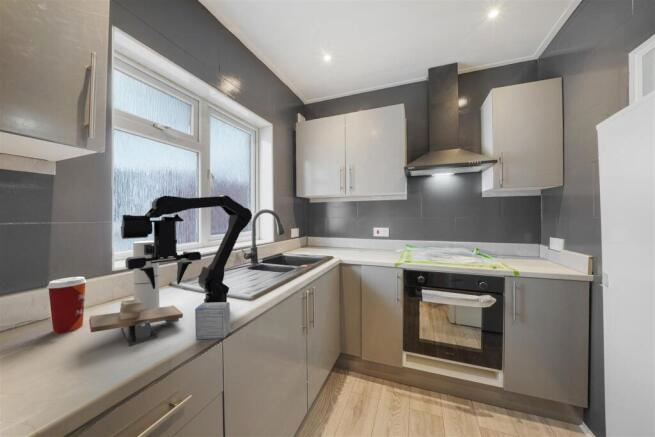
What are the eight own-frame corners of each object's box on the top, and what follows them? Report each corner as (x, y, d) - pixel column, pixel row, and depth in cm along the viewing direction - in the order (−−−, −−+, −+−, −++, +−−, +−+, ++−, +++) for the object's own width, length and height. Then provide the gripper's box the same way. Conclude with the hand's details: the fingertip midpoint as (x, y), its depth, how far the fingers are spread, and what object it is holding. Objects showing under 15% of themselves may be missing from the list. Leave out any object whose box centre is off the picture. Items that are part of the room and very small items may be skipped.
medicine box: (230, 331, 68) (230, 301, 68) (224, 339, 64) (223, 307, 64) (203, 332, 68) (202, 302, 68) (195, 340, 64) (194, 308, 64)
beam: (172, 313, 79) (173, 305, 79) (181, 322, 72) (183, 313, 72) (88, 325, 64) (89, 316, 64) (89, 338, 57) (91, 327, 58)
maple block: (137, 313, 69) (139, 299, 70) (139, 316, 67) (141, 302, 67) (119, 315, 66) (121, 301, 67) (121, 319, 64) (123, 304, 64)
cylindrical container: (164, 307, 87) (163, 240, 87) (147, 315, 80) (146, 242, 80) (146, 307, 88) (145, 240, 88) (128, 315, 81) (127, 242, 81)
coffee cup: (91, 326, 73) (90, 278, 73) (51, 338, 66) (50, 284, 66) (82, 320, 77) (82, 274, 77) (44, 330, 70) (43, 280, 70)
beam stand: (146, 321, 75) (146, 306, 75) (157, 337, 65) (157, 320, 65) (121, 328, 71) (121, 312, 71) (129, 346, 61) (129, 328, 61)
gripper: (189, 233, 85) (190, 276, 85) (122, 237, 72) (123, 288, 72) (201, 234, 78) (202, 281, 78) (127, 239, 64) (129, 296, 64)
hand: (166, 286), depth 73 cm, fingers open, 6 cm apart
